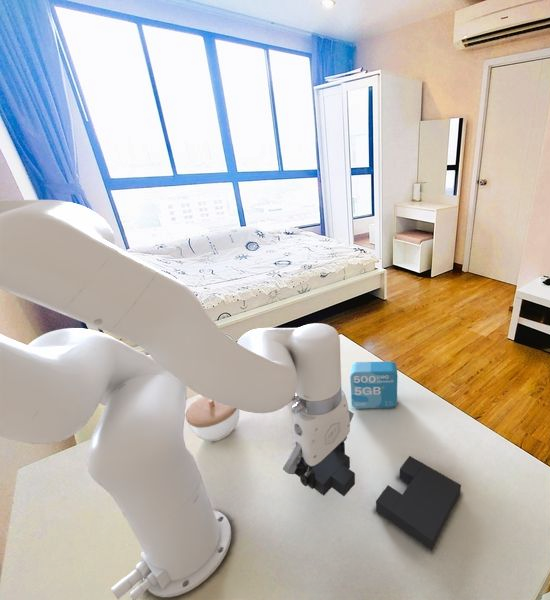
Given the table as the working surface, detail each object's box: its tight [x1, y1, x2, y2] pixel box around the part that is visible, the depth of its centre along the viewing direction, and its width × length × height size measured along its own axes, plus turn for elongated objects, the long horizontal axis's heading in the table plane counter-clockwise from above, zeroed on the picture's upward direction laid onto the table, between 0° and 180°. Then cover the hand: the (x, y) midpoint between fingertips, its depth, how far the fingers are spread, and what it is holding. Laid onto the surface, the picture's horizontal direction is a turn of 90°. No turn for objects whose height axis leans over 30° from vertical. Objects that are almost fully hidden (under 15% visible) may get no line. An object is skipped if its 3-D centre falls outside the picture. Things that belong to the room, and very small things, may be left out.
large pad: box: [375, 455, 462, 551], centre depth 62 cm, size 12×12×3 cm
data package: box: [349, 360, 399, 410], centre depth 85 cm, size 12×4×12 cm, turn 94°
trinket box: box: [185, 395, 241, 442], centre depth 76 cm, size 11×11×9 cm
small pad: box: [297, 448, 356, 497], centre depth 60 cm, size 7×10×3 cm
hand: (323, 467), depth 61 cm, fingers closed on small pad, 7 cm apart
